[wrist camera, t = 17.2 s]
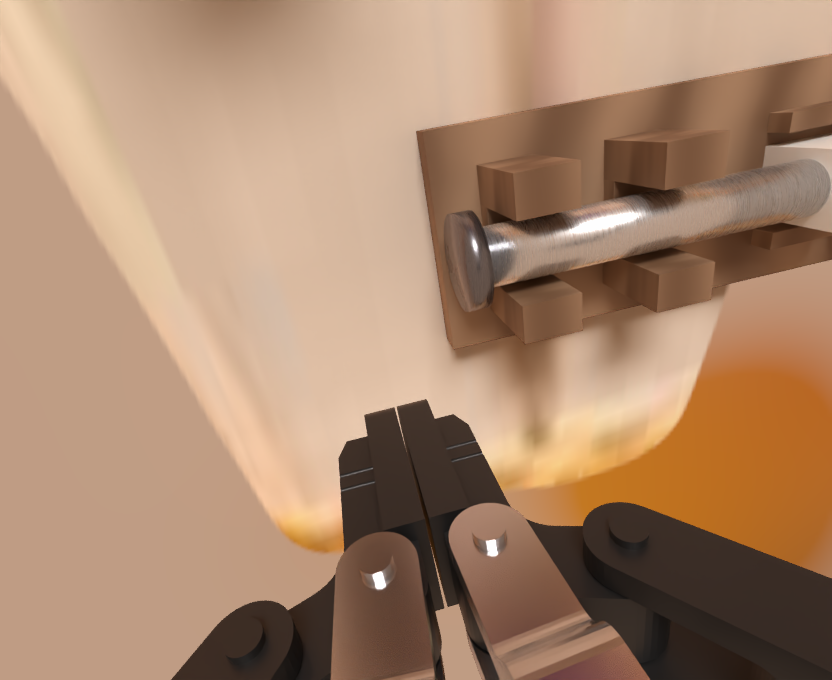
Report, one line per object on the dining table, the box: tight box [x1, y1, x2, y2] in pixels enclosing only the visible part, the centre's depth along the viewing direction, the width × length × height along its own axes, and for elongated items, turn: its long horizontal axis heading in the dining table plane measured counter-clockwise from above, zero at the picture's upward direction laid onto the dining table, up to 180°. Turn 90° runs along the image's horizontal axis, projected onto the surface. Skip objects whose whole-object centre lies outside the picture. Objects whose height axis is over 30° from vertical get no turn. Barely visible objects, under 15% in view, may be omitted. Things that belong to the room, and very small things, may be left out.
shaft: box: [444, 159, 831, 312], centre depth 24 cm, size 19×5×5 cm, turn 100°
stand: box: [416, 54, 832, 349], centre depth 25 cm, size 26×12×7 cm, turn 100°
